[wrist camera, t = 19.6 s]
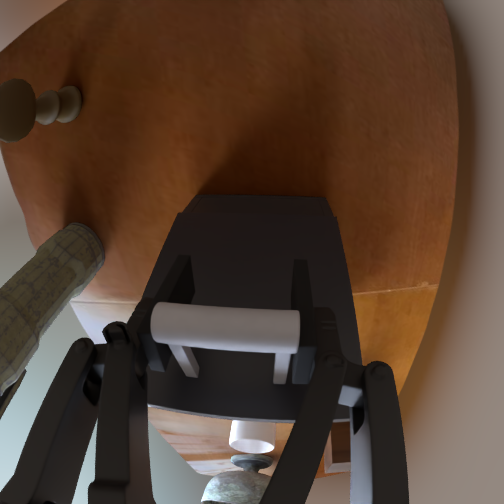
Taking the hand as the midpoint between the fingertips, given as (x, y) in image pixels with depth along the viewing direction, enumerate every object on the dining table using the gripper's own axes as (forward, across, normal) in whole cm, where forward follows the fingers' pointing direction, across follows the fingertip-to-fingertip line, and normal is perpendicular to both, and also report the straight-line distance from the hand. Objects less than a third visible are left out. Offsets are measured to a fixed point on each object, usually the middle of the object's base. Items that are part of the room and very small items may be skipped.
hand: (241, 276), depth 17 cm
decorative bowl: (+17, -2, -85) cm, 86 cm away
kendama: (+18, -24, +13) cm, 33 cm away
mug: (+17, 0, -44) cm, 47 cm away
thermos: (+17, -27, -9) cm, 33 cm away
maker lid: (+2, 0, -3) cm, 4 cm away
